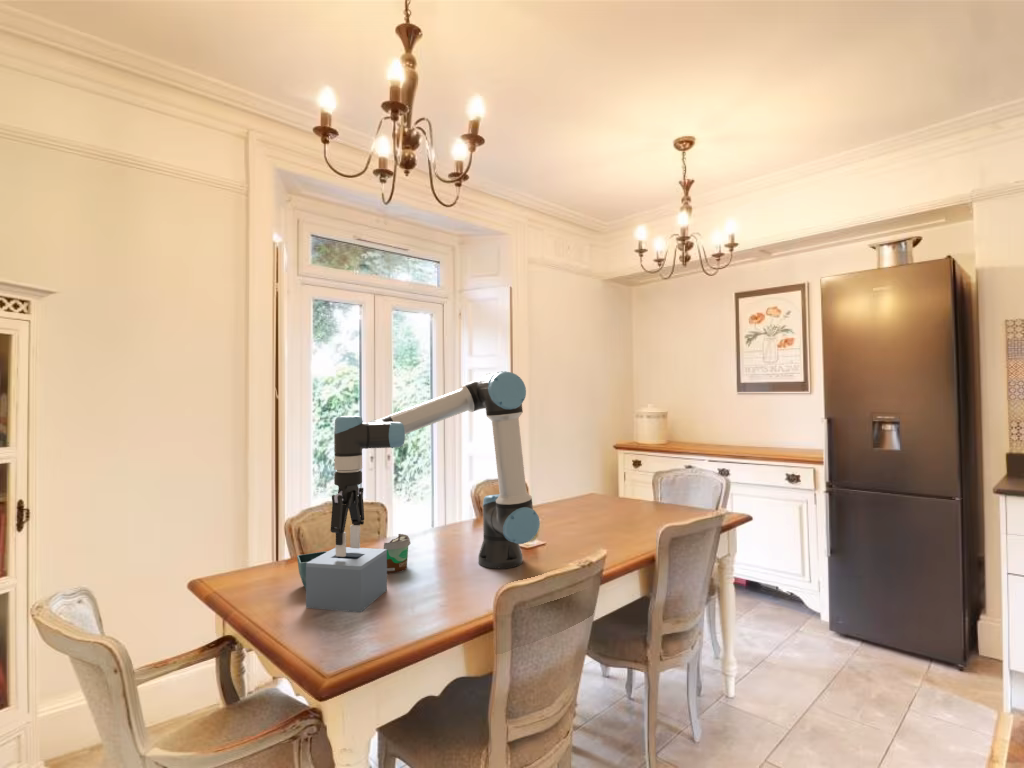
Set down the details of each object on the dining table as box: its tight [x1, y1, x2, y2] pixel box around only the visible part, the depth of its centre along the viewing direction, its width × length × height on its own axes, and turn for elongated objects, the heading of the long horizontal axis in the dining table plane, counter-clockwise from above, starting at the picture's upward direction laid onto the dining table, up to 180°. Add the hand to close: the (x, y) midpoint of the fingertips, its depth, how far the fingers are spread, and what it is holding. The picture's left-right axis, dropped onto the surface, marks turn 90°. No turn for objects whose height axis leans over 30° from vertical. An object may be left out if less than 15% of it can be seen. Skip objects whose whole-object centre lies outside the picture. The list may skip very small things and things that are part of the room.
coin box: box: [305, 546, 388, 613], centre depth 149 cm, size 16×16×12 cm
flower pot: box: [296, 550, 328, 590], centre depth 158 cm, size 9×9×9 cm
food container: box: [383, 533, 411, 574], centre depth 174 cm, size 12×6×10 cm, turn 168°
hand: (348, 551), depth 149 cm, fingers open, 7 cm apart
